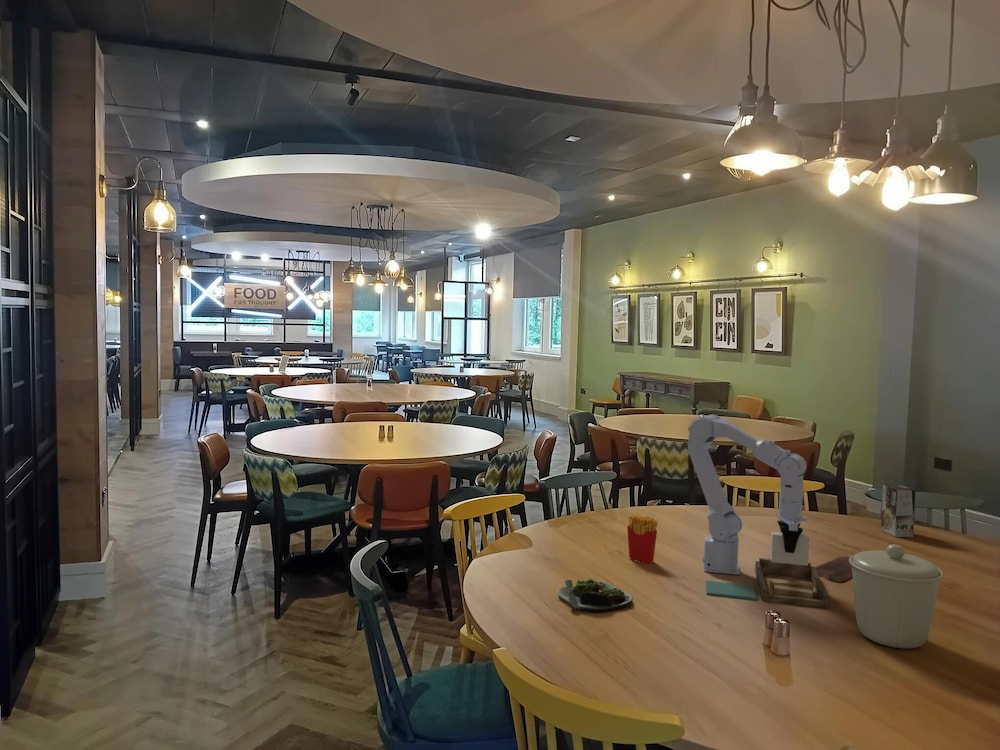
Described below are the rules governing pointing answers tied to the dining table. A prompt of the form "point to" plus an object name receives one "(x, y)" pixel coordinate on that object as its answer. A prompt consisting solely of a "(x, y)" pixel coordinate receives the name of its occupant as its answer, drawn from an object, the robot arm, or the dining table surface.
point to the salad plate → (594, 596)
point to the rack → (795, 571)
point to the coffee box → (898, 510)
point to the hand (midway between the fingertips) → (788, 550)
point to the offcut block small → (793, 592)
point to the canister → (894, 596)
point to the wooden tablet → (836, 569)
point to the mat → (730, 590)
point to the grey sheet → (789, 558)
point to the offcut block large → (790, 584)
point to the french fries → (642, 538)
